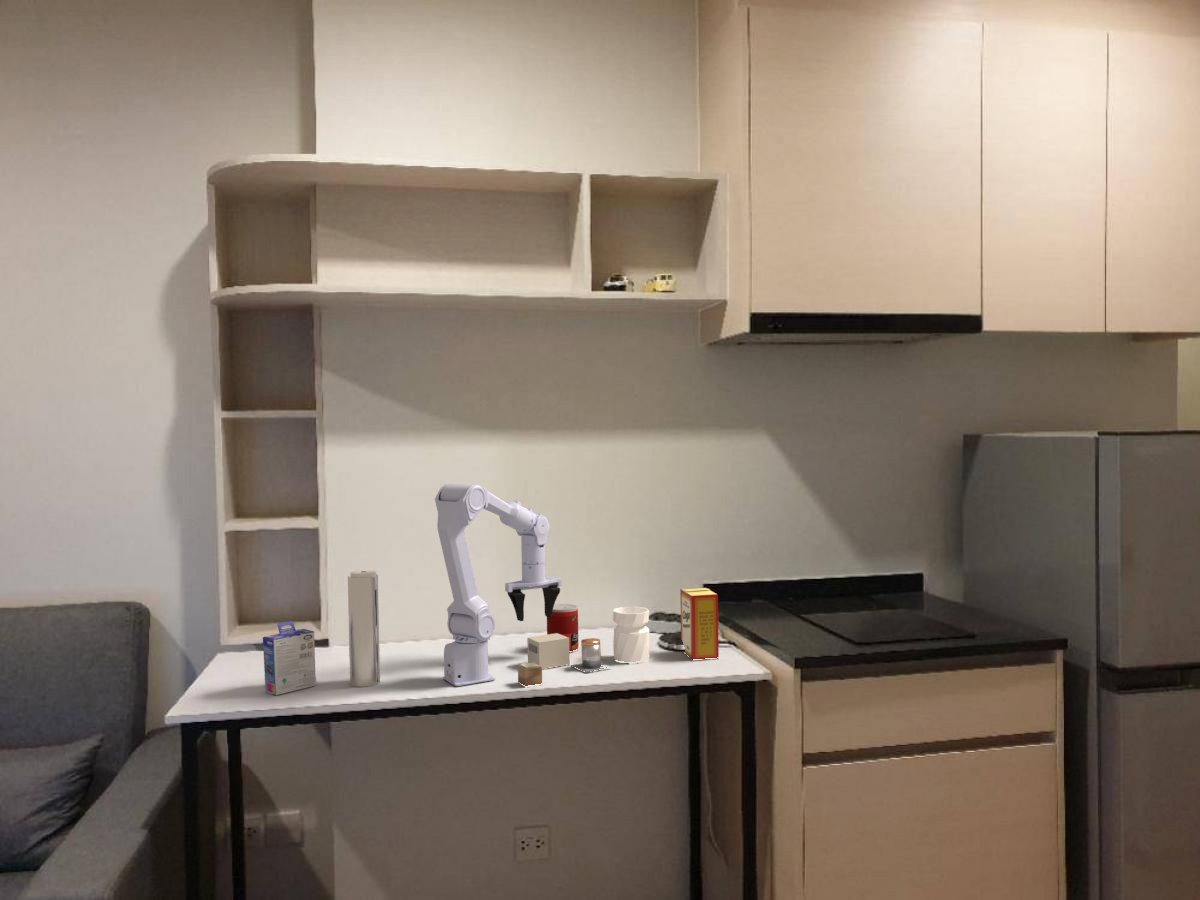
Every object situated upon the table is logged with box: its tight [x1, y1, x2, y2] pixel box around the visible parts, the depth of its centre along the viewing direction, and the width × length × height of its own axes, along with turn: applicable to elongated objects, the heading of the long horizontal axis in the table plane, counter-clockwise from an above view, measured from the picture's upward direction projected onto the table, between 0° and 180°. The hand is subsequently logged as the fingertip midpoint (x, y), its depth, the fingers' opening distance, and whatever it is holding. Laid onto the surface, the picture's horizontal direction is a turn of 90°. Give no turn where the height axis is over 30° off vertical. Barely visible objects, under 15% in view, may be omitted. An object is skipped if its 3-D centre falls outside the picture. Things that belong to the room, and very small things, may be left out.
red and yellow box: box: [679, 587, 720, 661], centre depth 218 cm, size 10×6×16 cm
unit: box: [526, 633, 570, 670], centre depth 211 cm, size 8×6×6 cm
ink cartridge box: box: [262, 620, 317, 696], centre depth 195 cm, size 10×6×14 cm, turn 138°
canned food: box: [546, 603, 579, 651], centre depth 226 cm, size 8×8×11 cm
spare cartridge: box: [580, 637, 602, 668], centre depth 208 cm, size 4×4×6 cm
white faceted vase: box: [612, 606, 651, 662], centre depth 215 cm, size 9×9×12 cm
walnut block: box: [517, 662, 543, 686], centre depth 196 cm, size 4×4×4 cm
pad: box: [570, 662, 607, 672], centre depth 208 cm, size 7×7×1 cm
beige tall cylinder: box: [347, 569, 381, 688], centre depth 198 cm, size 6×6×25 cm
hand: (534, 618), depth 217 cm, fingers open, 7 cm apart
